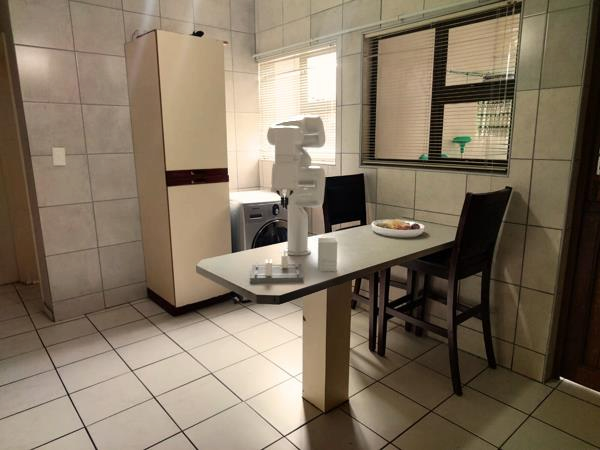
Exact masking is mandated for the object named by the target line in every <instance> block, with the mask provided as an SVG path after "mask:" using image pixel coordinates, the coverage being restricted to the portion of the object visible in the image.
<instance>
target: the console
mask: <svg viewBox="0 0 600 450" xmlns="http://www.w3.org/2000/svg"><path fill="white" fill-rule="evenodd" d="M249 280H250V284H274V283H275V284H276V283H277V284H280V283H281V284H282V283H283V284H285V283H286V284H287V283H294V284H296V283H297V284H299V283H300V284H301V283H303V284H304V273H303V269H302V264H298V262H295V264H293V263H292V264H288V268H282V264H272V276H266V264H259V262H256V263H255V264H252V266H251V272H250V279H249Z"/></svg>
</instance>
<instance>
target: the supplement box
mask: <svg viewBox="0 0 600 450" xmlns="http://www.w3.org/2000/svg"><path fill="white" fill-rule="evenodd" d="M317 241H318V243H317V245H318V246H317V250H318V251H317V266H318V267H317V268H318V271H319V272H337V270H338V269H337V268H338V241H337V239H336V238H335V237H318V240H317Z"/></svg>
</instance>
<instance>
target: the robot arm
mask: <svg viewBox="0 0 600 450" xmlns="http://www.w3.org/2000/svg"><path fill="white" fill-rule="evenodd" d="M325 132H326V131H325V126H324V122H323V120H322V118H321V116H319V115H316V114H315V115H311V114H305V115H304V114H301V115H299V114H298V115H296V116H294V117H293V118H292V119H290V120H289V119H288V120H284V121H281V122H280V121H279V122H275V123H273V124H271V125H270V127H268V129H267V133H266V139H267V141H268V144H269V145H271V146H274V162H273V163H272V167H271V187H270V192H271V193H275V194H277V195H278V196H279V197H280V206H282V208H285V209H287V247H286V248H284V250H283V253H284V252H285V253H287V254H288V255H289V256H295V257H296V256H297V257H299V256H306V255H309V254H311V248H309V247H308V244H309V243H308V235H309V215H308V213H307V211H306V210H305V209H304V208H320V207H322V206H323V204H324V198H325V189H326V188H325V187H326V171H325V169H324V168H323V166H319V165H318V166H315V165H313V166H312V165H311V164H312V157H311V155H310V153H308V151H307V150H305V149H304V148H309V149H310V148H312V149H313V148H316V149H318V148H322V147H324V145H325V144H326V133H325ZM283 190H286V192H285V194H284V191H283Z"/></svg>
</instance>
